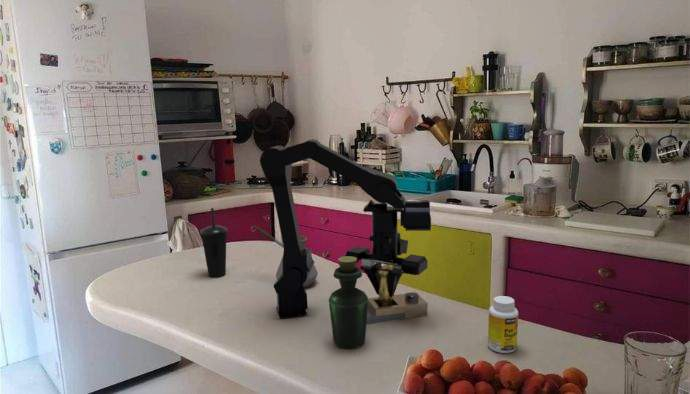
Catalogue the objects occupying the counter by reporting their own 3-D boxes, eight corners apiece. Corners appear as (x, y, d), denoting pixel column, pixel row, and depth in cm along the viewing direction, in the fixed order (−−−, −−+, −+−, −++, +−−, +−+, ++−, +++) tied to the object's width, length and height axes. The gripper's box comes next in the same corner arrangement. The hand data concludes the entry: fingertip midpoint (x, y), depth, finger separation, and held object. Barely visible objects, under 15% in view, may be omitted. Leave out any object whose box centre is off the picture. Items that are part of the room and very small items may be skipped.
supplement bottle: (504, 357, 97) (506, 307, 95) (481, 346, 101) (483, 298, 99) (522, 349, 100) (524, 300, 98) (500, 338, 104) (501, 292, 102)
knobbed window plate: (352, 325, 112) (352, 308, 111) (344, 313, 119) (344, 297, 118) (427, 315, 116) (427, 299, 116) (415, 303, 123) (415, 288, 122)
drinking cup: (236, 273, 148) (231, 207, 145) (216, 281, 142) (211, 212, 138) (217, 269, 152) (212, 204, 149) (198, 276, 146) (192, 209, 142)
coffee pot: (326, 281, 140) (324, 228, 137) (301, 294, 131) (298, 239, 128) (268, 268, 152) (265, 220, 149) (241, 280, 142) (237, 229, 139)
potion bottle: (367, 332, 109) (366, 252, 105) (370, 350, 101) (369, 265, 97) (330, 333, 108) (327, 253, 105) (329, 352, 100) (326, 266, 97)
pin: (389, 314, 115) (389, 272, 113) (373, 311, 117) (373, 269, 115) (396, 308, 118) (396, 267, 116) (381, 304, 120) (381, 264, 118)
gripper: (436, 226, 116) (435, 290, 119) (365, 218, 125) (366, 278, 128) (418, 238, 106) (417, 307, 109) (342, 228, 116) (343, 292, 119)
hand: (385, 295), depth 117 cm, fingers closed on pin, 3 cm apart
